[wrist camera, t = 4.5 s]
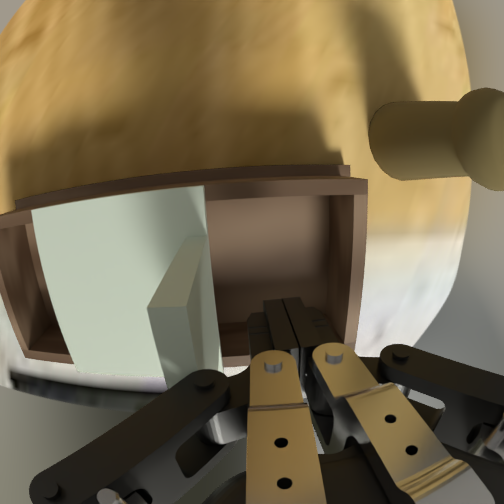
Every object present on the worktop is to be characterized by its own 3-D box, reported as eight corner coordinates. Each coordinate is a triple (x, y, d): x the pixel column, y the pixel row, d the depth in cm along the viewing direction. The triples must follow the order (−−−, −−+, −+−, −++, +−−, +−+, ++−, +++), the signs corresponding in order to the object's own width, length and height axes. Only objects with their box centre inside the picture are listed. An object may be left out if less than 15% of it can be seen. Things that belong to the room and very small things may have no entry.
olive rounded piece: (368, 95, 17) (476, 55, 7) (432, 111, 18) (540, 100, 7) (367, 176, 19) (481, 197, 8) (430, 185, 19) (541, 211, 9)
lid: (36, 208, 13) (-61, 245, 6) (204, 185, 13) (173, 209, 6) (81, 366, 16) (35, 448, 9) (223, 369, 16) (224, 476, 9)
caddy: (22, 198, 17) (-18, 210, 12) (344, 164, 19) (378, 166, 14) (55, 333, 21) (28, 365, 16) (338, 321, 22) (362, 358, 17)
